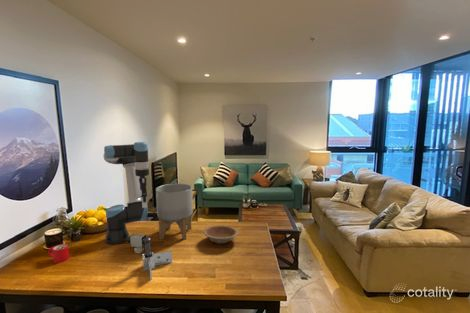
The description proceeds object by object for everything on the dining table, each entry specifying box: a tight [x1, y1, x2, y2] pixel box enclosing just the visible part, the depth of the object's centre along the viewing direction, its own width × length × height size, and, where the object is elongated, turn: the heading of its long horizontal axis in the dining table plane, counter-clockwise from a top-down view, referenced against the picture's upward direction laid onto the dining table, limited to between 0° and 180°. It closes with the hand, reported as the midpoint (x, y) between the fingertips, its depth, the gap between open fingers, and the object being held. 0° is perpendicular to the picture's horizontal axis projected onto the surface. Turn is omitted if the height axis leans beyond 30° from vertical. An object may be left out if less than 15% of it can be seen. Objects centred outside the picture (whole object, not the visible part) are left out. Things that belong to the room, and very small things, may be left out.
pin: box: [143, 236, 152, 258], centre depth 146 cm, size 4×4×17 cm
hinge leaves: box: [142, 249, 173, 281], centre depth 144 cm, size 16×16×7 cm
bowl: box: [202, 224, 239, 245], centre depth 177 cm, size 24×24×8 cm
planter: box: [155, 182, 194, 241], centre depth 187 cm, size 25×25×34 cm
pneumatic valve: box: [127, 233, 148, 254], centre depth 163 cm, size 6×12×12 cm, turn 78°
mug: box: [47, 243, 70, 264], centre depth 155 cm, size 8×12×8 cm, turn 86°
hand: (144, 203), depth 155 cm, fingers open, 13 cm apart
